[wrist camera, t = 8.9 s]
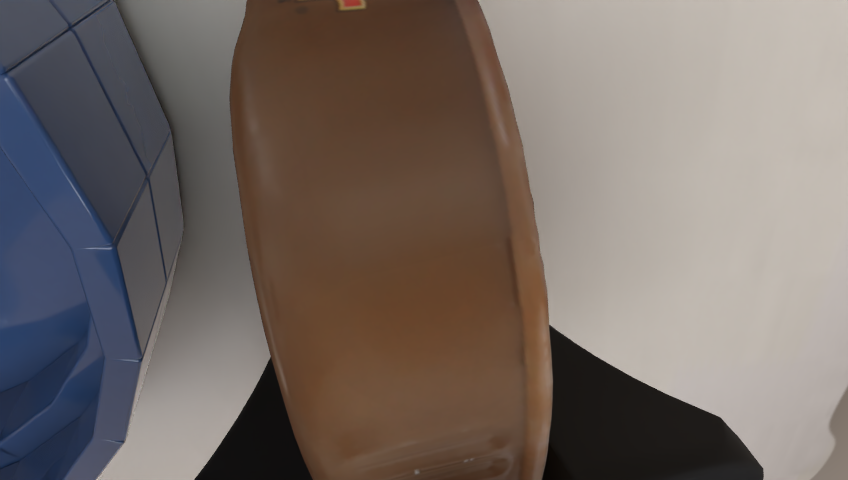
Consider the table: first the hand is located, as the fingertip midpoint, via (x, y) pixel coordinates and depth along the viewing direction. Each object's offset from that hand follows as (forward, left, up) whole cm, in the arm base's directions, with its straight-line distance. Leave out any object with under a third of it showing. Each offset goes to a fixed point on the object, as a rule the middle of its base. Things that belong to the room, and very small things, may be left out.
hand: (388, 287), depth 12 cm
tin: (0, 0, -2) cm, 2 cm away
